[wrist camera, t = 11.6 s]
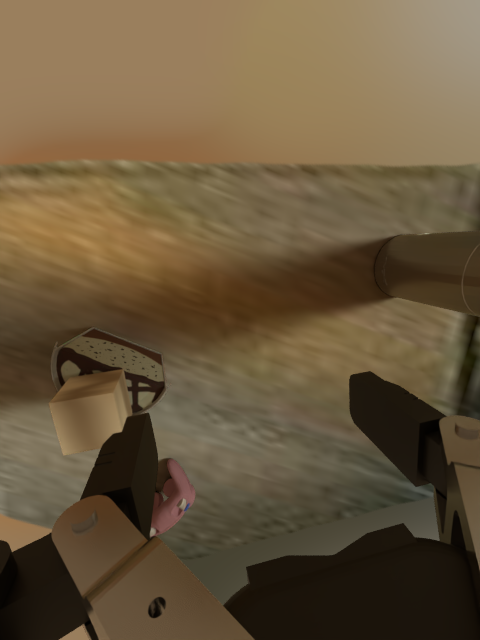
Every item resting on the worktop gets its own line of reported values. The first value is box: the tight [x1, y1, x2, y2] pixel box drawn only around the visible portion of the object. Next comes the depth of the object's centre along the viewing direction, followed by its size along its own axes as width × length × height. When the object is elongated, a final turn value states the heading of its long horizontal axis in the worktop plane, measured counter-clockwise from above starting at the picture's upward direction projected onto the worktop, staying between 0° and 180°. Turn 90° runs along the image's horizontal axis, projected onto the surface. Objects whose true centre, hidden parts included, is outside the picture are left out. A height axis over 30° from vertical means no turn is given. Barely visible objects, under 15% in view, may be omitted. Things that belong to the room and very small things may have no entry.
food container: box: [50, 327, 172, 416], centre depth 35 cm, size 12×6×10 cm, turn 63°
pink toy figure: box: [150, 459, 195, 537], centre depth 43 cm, size 10×5×7 cm, turn 129°
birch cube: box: [49, 369, 132, 455], centre depth 28 cm, size 5×5×5 cm
